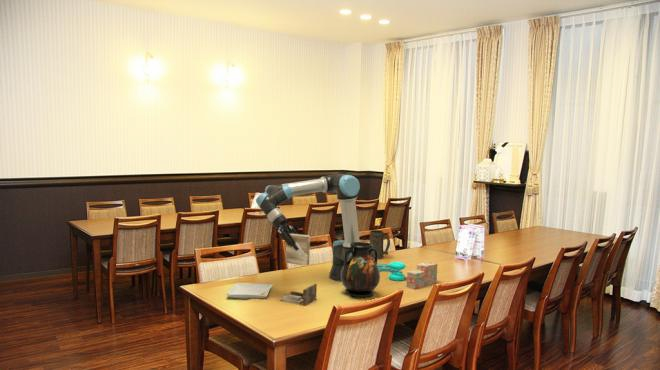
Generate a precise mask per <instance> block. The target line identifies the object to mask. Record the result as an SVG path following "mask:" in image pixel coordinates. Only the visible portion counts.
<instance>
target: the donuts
mask: <svg viewBox="0 0 660 370" xmlns="http://www.w3.org/2000/svg"><path fill="white" fill-rule="evenodd" d="M388 265H389V267H390V268H391V269H394V270H400V271H402V270H404V269H406V263H404V262H401V261H391V262H389V264H388ZM388 279H390V280H391V281H396V282H400V281H404V280H405V279H406V276H405V274H403V272H402V273H399V272H393V273H391V272H390V273H389V274H388Z"/></svg>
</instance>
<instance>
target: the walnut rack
mask: <svg viewBox="0 0 660 370" xmlns="http://www.w3.org/2000/svg"><path fill="white" fill-rule="evenodd" d="M286 294H288V295H294V296H300V297H302V299H303V303H302V304H300V305H299V304H297V305H298V306H303V307H307V306H309V305H310V304H312V303H313V302H315V301H317V300H318V299H317V283H314V284H311V285H309V286H308V287H306V288H304V289H303V291H302V292H297V291H294V290H293V291H290V293H285V294H284V296H285V295H286ZM279 302H284V301H283V298H282V299H280V300H279ZM284 303H285V302H284ZM287 303H288V304H290V303H289V302H287ZM292 304H294V303H292ZM294 305H295V304H294Z"/></svg>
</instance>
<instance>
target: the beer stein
mask: <svg viewBox="0 0 660 370" xmlns="http://www.w3.org/2000/svg"><path fill="white" fill-rule="evenodd" d="M384 239H386V240H387V242H386V247H385V250H384ZM369 243H371V244H372V245H373V247H372V248H374V249H376V251H377V254H378V258H377V260H383V259H384V255H386V256H388V254H389V252H388V251H389V249H390V246H391V239H390V234H385V235H384V231H383V230H378V229H372V230H370V231H369ZM372 248H370V249H372ZM370 256H371V257H372V258H373V259H374V260H375V252H374V251H372V252H371V255H370Z"/></svg>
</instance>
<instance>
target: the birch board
mask: <svg viewBox="0 0 660 370" xmlns="http://www.w3.org/2000/svg"><path fill="white" fill-rule="evenodd" d="M290 235H291V237H292V238H293V240H294V241H295V244H296V243H297V244H298V245H299V247H300V248H301V249H302V251H303V252H304V254H303V255H301V256H300V255H299V254H298V253H297V252H296V250H295V249H294V248H293V246H292V247H290V246H291V245H290V246H289V245H288V244H287V243H286V242H285V263H286V264H292V265H298V266H303V267H304V266H305V267H307V266H309V265H310V255H311V254H310V253H311V251H310V249H311V235H308V234H300V233H298V234H291V233H290Z"/></svg>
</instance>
